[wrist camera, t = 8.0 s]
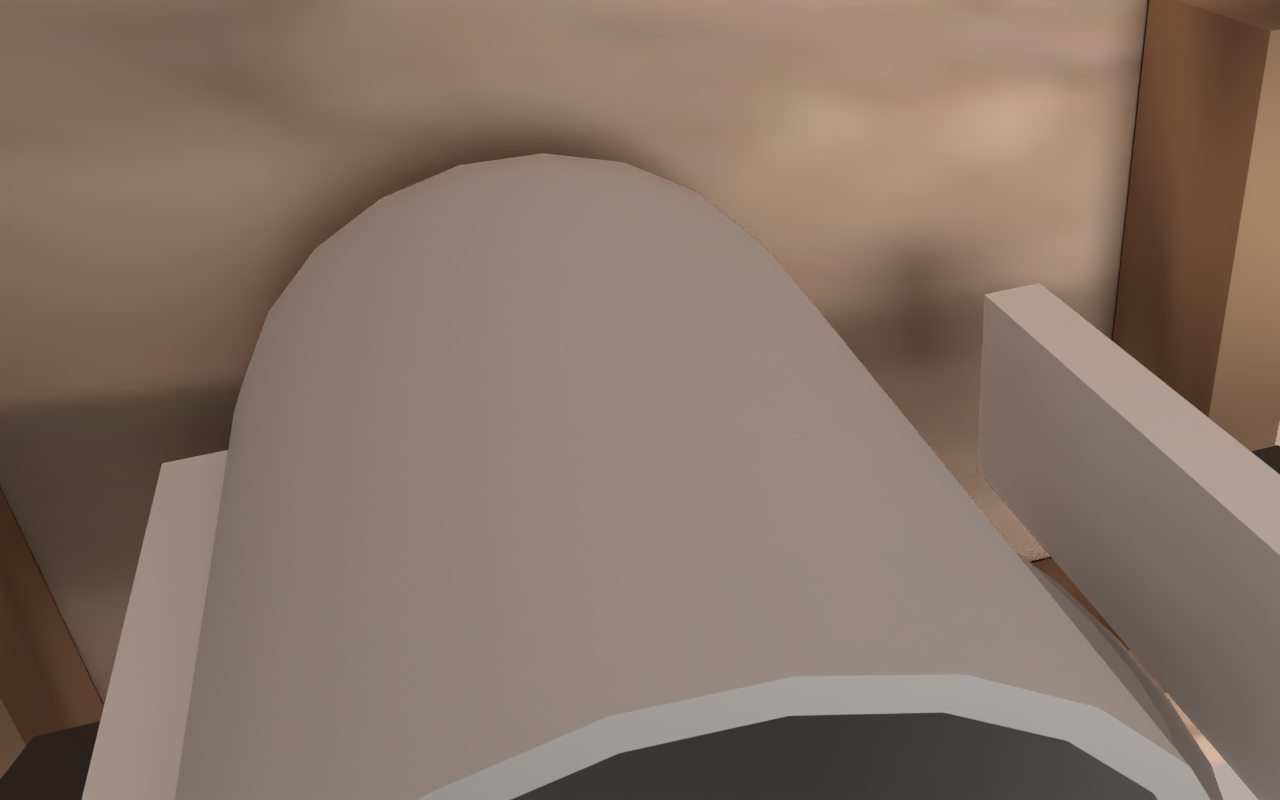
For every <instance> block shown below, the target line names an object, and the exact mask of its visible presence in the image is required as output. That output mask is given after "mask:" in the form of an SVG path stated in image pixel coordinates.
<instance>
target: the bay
mask: <svg viewBox="0 0 1280 800" xmlns="http://www.w3.org/2000/svg"><path fill="white" fill-rule="evenodd" d="M1113 342H1114V343H1115V344H1117V345H1118V346H1119V347H1120V348H1122V349H1123V350H1124V351H1125V352H1127V353H1128V354H1129V355H1130V356H1132V357H1133V358H1134V359H1135V360H1137V361H1138V362H1139V363H1140V364H1142V365H1143V366H1144V367H1145V368H1147V369H1148V370H1149V371H1151V372H1152V373H1153V374H1154V375H1156V376H1157V377H1158V378H1159V379H1161V380H1162V381H1163V382H1164V383H1166V384H1167V385H1168V386H1169V387H1171V388H1172V389H1173V390H1174V391H1176V392H1177V393H1178V394H1179V395H1181V396H1182V397H1183V398H1184V399H1186V400H1187V401H1188V402H1189V403H1191V404H1192V405H1193V406H1194V407H1196V408H1197V409H1198V410H1199V411H1201V412H1202V413H1203V414H1204V415H1206V416H1207V417H1208V418H1209V419H1211V420H1212V421H1213V422H1214V423H1216V424H1217V425H1218V426H1219V427H1221V428H1222V429H1223V430H1224V431H1226V432H1227V433H1228V434H1229V435H1231V436H1232V437H1233V438H1234V439H1236V440H1237V441H1238V442H1239V443H1241V444H1242V445H1243V446H1244V447H1246V448H1247V449H1248V450H1249V451H1254V450H1259V449H1263V448H1267V447H1272V446H1275V440H1276V435H1277V430H1278V425H1279V420H1280V0H1149V9H1148V18H1147V27H1146V37H1145V46H1144V55H1143V64H1142V74H1141V83H1140V92H1139V102H1138V111H1137V120H1136V130H1135V139H1134V148H1133V157H1132V167H1131V176H1130V185H1129V195H1128V204H1127V213H1126V223H1125V232H1124V241H1123V250H1122V260H1121V269H1120V278H1119V288H1118V297H1117V306H1116V316H1115V325H1114V334H1113ZM1032 564H1033V565H1034V566H1036V567H1037V568H1038V569H1040V570H1041V571H1043V572H1044V573H1045V574H1047V575H1048V576H1049V577H1051V578H1052V579H1053V580H1055V581H1056V582H1057V583H1059V584H1060V585H1061V586H1062V587H1063V588H1064V589H1065V590H1067V591H1068V592H1069V593H1070V594H1071V595H1072V596H1073V597H1074V598H1075V599H1076V600H1077V601H1078V602H1079V603H1080V604H1081V605H1082V606H1083V607H1085V608H1086V609H1087V610H1088V611H1089V612H1090V613H1091V614H1092V615H1093V616H1094V617H1095V618H1096V619H1097V620H1098V621H1099V622H1100V623H1101V624H1102V625H1104V626H1105V627H1106V628H1107V629H1108V630H1109V631H1110V632H1111V633H1112V634H1113V635H1114V636H1115V637H1116V638H1117V639H1118V640H1119V641H1120V642H1121V643H1122V645H1123V646H1124V647H1125V648H1126V649H1127V651H1128V652H1129V653H1130V654H1131V655H1132V656H1133V658H1134V659H1135V660H1136V661H1137V662H1138V664H1139V665H1140V666H1141V667H1142V668H1143V669H1144V671H1145V672H1146V673H1147V674H1148V675H1149V676H1150V678H1151V679H1152V680H1153V681H1154V682H1155V684H1156V685H1157V686H1158V687H1159V688H1160V689H1161V691H1162V692H1163V693H1166V691H1165V689H1164V688H1163V687H1162V686H1161V685H1160V684H1159V682H1158V681H1157V680H1156V679H1155V678H1154V677H1153V675H1152V674H1151V673H1150V672H1149V671H1148V670H1147V668H1146V667H1145V666H1144V665H1143V664H1142V663H1141V661H1140V660H1139V659H1138V658H1137V657H1136V656H1135V654H1134V653H1133V652H1132V651H1131V650H1130V649H1129V647H1128V646H1127V645H1126V644H1125V643H1124V642H1123V640H1122V639H1121V638H1120V637H1119V636H1118V634H1117V633H1116V632H1115V631H1114V630H1113V629H1112V627H1111V626H1110V625H1109V624H1108V623H1107V622H1106V620H1105V619H1104V618H1103V617H1102V616H1101V615H1100V613H1099V612H1098V611H1097V610H1096V609H1095V608H1094V606H1093V605H1092V604H1091V603H1090V602H1089V601H1088V599H1087V598H1086V597H1085V596H1084V595H1083V594H1082V592H1081V591H1080V590H1079V589H1078V588H1077V587H1076V585H1075V584H1074V583H1073V582H1072V581H1071V579H1070V578H1069V577H1068V576H1067V575H1066V574H1065V572H1064V571H1063V570H1062V569H1061V568H1060V567H1059V565H1058V564H1057V563H1056V562H1055V561H1054V560H1053V558H1050V559H1046V560H1042V561H1038V562H1033V563H1032ZM103 708H104V706H103V704H102V702H101V700H100V698H99V696H98V694H97V692H96V689H95V687H94V685H93V683H92V681H91V679H90V677H89V675H88V673H87V670H86V668H85V666H84V664H83V662H82V660H81V658H80V656H79V654H78V651H77V649H76V647H75V645H74V643H73V641H72V639H71V637H70V635H69V633H68V630H67V628H66V626H65V624H64V622H63V620H62V618H61V616H60V614H59V611H58V609H57V607H56V605H55V603H54V601H53V599H52V597H51V595H50V592H49V590H48V588H47V586H46V584H45V582H44V580H43V578H42V576H41V574H40V571H39V569H38V567H37V565H36V563H35V561H34V559H33V557H32V555H31V552H30V550H29V548H28V546H27V544H26V542H25V540H24V538H23V536H22V533H21V531H20V529H19V527H18V525H17V523H16V521H15V519H14V517H13V515H12V512H11V510H10V508H9V506H8V504H7V502H6V500H5V498H4V496H3V493H2V491H1V489H0V779H1V778H2V777H3V775H4V774H5V773H6V771H7V770H8V769H9V768H10V766H11V765H12V764H13V762H14V761H15V760H16V759H17V757H18V756H19V755H20V753H21V752H22V751H23V749H24V748H25V747H26V746H27V744H28V743H29V742H30V740H31V739H32V738H33V737H34V736H38V735H42V734H47V733H51V732H55V731H60V730H64V729H68V728H73V727H77V726H81V725H85V724H90V723H94V722H98V721H101V716H102V712H103Z"/></svg>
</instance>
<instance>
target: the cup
mask: <svg viewBox="0 0 1280 800" xmlns="http://www.w3.org/2000/svg"><path fill="white" fill-rule="evenodd" d="M175 800H1223V798H1222V795H1221V793H1220V790H1219V787H1218V784H1217V781H1216V778H1215V775H1214V772H1213V769H1212V766H1211V764H1210V763H1209V761H1208V760H1207V758H1206V756H1205V755H1204V753H1203V752H1202V750H1201V749H1200V747H1199V745H1198V744H1197V742H1196V741H1195V739H1194V738H1193V736H1192V735H1191V733H1190V731H1189V730H1188V728H1187V727H1186V725H1185V724H1184V722H1183V720H1182V719H1181V717H1180V716H1179V714H1178V713H1177V711H1176V710H1175V708H1174V706H1173V705H1172V703H1171V702H1170V700H1169V699H1168V698H1167V697H1166V695H1165V694H1164V693H1163V692H1162V691H1161V689H1160V688H1159V687H1158V686H1157V685H1156V684H1155V682H1154V681H1153V680H1152V679H1151V678H1150V676H1149V675H1148V674H1147V673H1146V672H1145V671H1144V669H1143V668H1142V667H1141V666H1140V665H1139V664H1138V662H1137V661H1136V660H1135V659H1134V658H1133V656H1132V655H1131V654H1130V653H1129V652H1128V651H1127V649H1126V648H1125V647H1124V646H1123V645H1122V643H1121V642H1120V641H1119V640H1118V639H1117V638H1116V637H1115V636H1114V635H1113V634H1112V633H1111V632H1110V631H1109V630H1108V629H1107V628H1106V627H1105V626H1104V625H1102V624H1101V623H1100V622H1099V621H1098V620H1097V619H1096V618H1095V617H1094V616H1093V615H1092V614H1091V613H1090V612H1089V611H1088V610H1087V609H1086V608H1085V607H1083V606H1082V605H1081V604H1080V603H1079V602H1078V601H1077V600H1076V599H1075V598H1074V597H1073V596H1072V595H1071V594H1070V593H1069V592H1068V591H1067V590H1065V589H1064V588H1063V587H1062V586H1061V585H1060V584H1059V583H1057V582H1056V581H1055V580H1053V579H1052V578H1051V577H1049V576H1048V575H1047V574H1045V573H1044V572H1043V571H1041V570H1040V569H1038V568H1037V567H1036V566H1034V565H1033V564H1032V563H1030V562H1029V561H1028V560H1026V559H1025V558H1024V557H1022V556H1021V555H1020V554H1018V553H1017V552H1015V551H1014V550H1013V548H1012V547H1011V546H1010V545H1009V544H1008V542H1007V541H1006V540H1005V539H1004V537H1003V536H1002V535H1001V534H1000V533H999V531H998V530H997V529H996V528H995V526H994V525H993V524H992V523H991V521H990V520H989V519H988V518H987V517H986V515H985V514H984V513H983V512H982V510H981V509H980V508H979V507H978V505H977V504H976V503H975V502H974V501H973V499H972V498H971V497H970V496H969V494H968V493H967V492H966V491H965V490H964V488H963V487H962V486H961V485H960V483H959V482H958V481H957V480H956V478H955V477H954V476H953V475H952V474H951V472H950V471H949V470H948V469H947V467H946V466H945V465H944V464H943V463H942V461H941V460H940V459H939V458H938V456H937V455H936V454H935V453H934V451H933V450H932V449H931V448H930V447H929V445H928V444H927V443H926V442H925V440H924V439H923V438H922V437H921V436H920V434H919V433H918V432H917V431H916V429H915V428H914V427H913V426H912V424H911V423H910V422H909V421H908V420H907V418H906V417H905V416H904V415H903V413H902V412H901V411H900V410H899V408H898V407H897V406H896V405H895V404H894V402H893V401H892V400H891V399H890V397H889V396H888V395H887V394H886V393H885V391H884V390H883V389H882V388H881V386H880V385H879V384H878V383H877V381H876V380H875V379H874V378H873V377H872V375H871V374H870V373H869V372H868V370H867V369H866V368H865V367H864V366H863V364H862V363H861V362H860V361H859V359H858V358H857V357H856V356H855V354H854V353H853V352H852V351H851V350H850V348H849V347H848V346H847V345H846V343H845V342H844V341H843V340H842V338H841V337H840V336H839V335H838V334H837V332H836V331H835V330H834V329H833V327H832V326H831V325H830V324H829V323H828V321H827V320H826V319H825V318H824V316H823V315H822V314H821V313H820V311H819V310H818V309H817V308H816V307H815V305H814V304H813V303H812V302H811V300H810V299H809V298H808V297H807V296H806V294H805V293H804V292H803V291H802V289H801V288H800V287H799V286H798V284H797V283H796V282H795V281H794V280H793V278H792V277H791V276H790V275H789V273H788V272H787V271H786V270H785V269H784V267H783V266H782V265H781V264H780V262H779V261H778V260H777V259H776V257H775V256H774V255H773V254H772V253H771V252H770V251H769V250H768V249H766V248H765V247H764V246H763V245H762V244H761V243H760V242H759V241H758V240H757V239H756V238H755V237H754V236H752V235H751V234H750V233H749V232H747V231H746V230H745V229H744V228H742V227H741V226H740V225H738V224H737V223H736V222H735V221H733V220H732V219H731V218H730V217H728V216H727V215H726V214H724V213H723V212H722V211H721V210H719V209H718V208H717V207H715V206H714V205H713V204H712V203H710V202H709V201H708V200H707V199H705V198H704V197H703V196H701V195H700V194H699V193H698V192H696V191H694V190H692V189H689V188H687V187H685V186H682V185H680V184H677V183H675V182H672V181H670V180H667V179H665V178H662V177H660V176H657V175H655V174H652V173H650V172H647V171H645V170H642V169H640V168H637V167H635V166H633V165H630V164H628V163H625V162H618V161H609V160H600V159H591V158H582V157H573V156H564V155H555V154H546V153H541V154H534V155H527V156H520V157H513V158H506V159H499V160H492V161H484V162H477V163H470V164H463V165H458V166H456V167H454V168H451V169H449V170H446V171H444V172H442V173H439V174H437V175H435V176H432V177H430V178H427V179H425V180H423V181H420V182H418V183H416V184H413V185H411V186H409V187H406V188H404V189H401V190H399V191H397V192H394V193H392V194H390V195H387V196H385V197H382V198H380V199H379V200H378V201H376V202H375V203H374V204H373V205H371V206H370V207H369V208H367V209H366V210H365V211H363V212H362V213H361V214H360V215H358V216H357V217H356V218H354V219H353V220H352V221H350V222H349V223H348V224H347V225H345V226H344V227H343V228H341V229H340V230H339V231H337V232H336V233H335V234H333V235H332V236H331V237H330V238H328V239H327V240H326V241H324V242H323V243H322V244H320V245H319V246H318V247H317V248H315V249H314V251H313V252H312V253H311V255H310V256H309V257H308V259H307V260H306V262H305V263H304V264H303V266H302V267H301V268H300V270H299V271H298V272H297V274H296V275H295V276H294V278H293V279H292V280H291V282H290V283H289V285H288V286H287V287H286V289H285V290H284V291H283V293H282V294H281V295H280V297H279V298H278V299H277V301H276V302H275V303H274V305H273V306H272V308H271V309H270V310H269V312H268V314H267V317H266V319H265V322H264V325H263V328H262V331H261V333H260V336H259V339H258V342H257V344H256V347H255V350H254V353H253V355H252V358H251V361H250V364H249V367H248V369H247V372H246V375H245V378H244V380H243V384H242V387H241V390H240V393H239V397H238V400H237V403H236V407H235V410H234V415H233V422H232V428H231V435H230V442H229V448H228V455H227V461H226V468H225V474H224V481H223V487H222V494H221V500H220V507H219V514H218V520H217V527H216V533H215V540H214V546H213V553H212V559H211V566H210V572H209V579H208V585H207V592H206V599H205V605H204V612H203V618H202V625H201V631H200V638H199V644H198V651H197V657H196V664H195V671H194V677H193V684H192V690H191V697H190V703H189V710H188V716H187V723H186V729H185V736H184V743H183V749H182V756H181V762H180V769H179V775H178V782H177V788H176V795H175Z"/></svg>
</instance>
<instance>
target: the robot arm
mask: <svg viewBox="0 0 1280 800" xmlns="http://www.w3.org/2000/svg"><path fill="white" fill-rule="evenodd" d="M227 455H228V450H225V451H220V452H215V453H210V454H205V455H201V456H196V457H191V458H186V459H181V460H176V461H171V462H167V463H162V465H161V469H160V474H159V478H158V482H157V486H156V490H155V495H154V499H153V503H152V507H151V511H150V516H149V520H148V524H147V528H146V532H145V536H144V541H143V545H142V549H141V553H140V557H139V562H138V566H137V570H136V574H135V578H134V582H133V587H132V591H131V595H130V599H129V603H128V608H127V612H126V616H125V620H124V624H123V628H122V633H121V637H120V641H119V645H118V649H117V654H116V658H115V662H114V666H113V670H112V675H111V679H110V683H109V687H108V691H107V695H106V700H105V704H104V708H103V712H102V716H101V721H98V722H94V723H90V724H85V725H81V726H77V727H73V728H68V729H64V730H60V731H55V732H51V733H47V734H42V735H38V736H34V737H33V738H32V739H31V740H30V742H29V743H28V744H27V746H26V747H25V748H24V749H23V751H22V752H21V753H20V755H19V756H18V757H17V759H16V760H15V761H14V762H13V764H12V765H11V766H10V768H9V769H8V770H7V771H6V773H5V774H4V775H3V777H2V778H1V779H0V800H175V795H176V788H177V782H178V775H179V769H180V762H181V756H182V749H183V743H184V736H185V729H186V723H187V716H188V710H189V703H190V697H191V690H192V684H193V677H194V671H195V664H196V657H197V651H198V644H199V638H200V631H201V625H202V618H203V612H204V605H205V599H206V592H207V585H208V579H209V572H210V566H211V559H212V553H213V546H214V540H215V533H216V527H217V520H218V514H219V507H220V500H221V494H222V487H223V481H224V474H225V468H226V461H227ZM977 471H978V472H979V473H980V474H981V475H982V477H983V478H984V479H985V480H986V481H987V482H988V484H989V485H990V486H991V487H992V488H993V489H994V491H995V492H996V493H997V494H998V495H999V496H1000V498H1001V499H1002V500H1003V501H1004V502H1005V503H1006V505H1007V506H1008V507H1009V508H1010V509H1011V510H1012V512H1013V513H1014V514H1015V515H1016V516H1017V517H1018V519H1019V520H1020V521H1021V522H1022V523H1023V524H1024V526H1025V527H1026V528H1027V529H1028V530H1029V532H1030V533H1031V534H1032V535H1033V536H1034V537H1035V539H1036V540H1037V541H1038V542H1039V543H1040V544H1041V546H1042V547H1043V548H1044V549H1045V550H1046V551H1047V553H1048V554H1049V555H1050V556H1051V557H1052V558H1053V560H1054V561H1055V562H1056V563H1057V564H1058V565H1059V567H1060V568H1061V569H1062V570H1063V571H1064V572H1065V574H1066V575H1067V576H1068V577H1069V578H1070V579H1071V581H1072V582H1073V583H1074V584H1075V585H1076V587H1077V588H1078V589H1079V590H1080V591H1081V592H1082V594H1083V595H1084V596H1085V597H1086V598H1087V599H1088V601H1089V602H1090V603H1091V604H1092V605H1093V606H1094V608H1095V609H1096V610H1097V611H1098V612H1099V613H1100V615H1101V616H1102V617H1103V618H1104V619H1105V620H1106V622H1107V623H1108V624H1109V625H1110V626H1111V627H1112V629H1113V630H1114V631H1115V632H1116V633H1117V634H1118V636H1119V637H1120V638H1121V639H1122V640H1123V642H1124V643H1125V644H1126V645H1127V646H1128V647H1129V649H1130V650H1131V651H1132V652H1133V653H1134V654H1135V656H1136V657H1137V658H1138V659H1139V660H1140V661H1141V663H1142V664H1143V665H1144V666H1145V667H1146V668H1147V670H1148V671H1149V672H1150V673H1151V674H1152V675H1153V677H1154V678H1155V679H1156V680H1157V681H1158V682H1159V684H1160V685H1161V686H1162V687H1163V688H1164V689H1165V691H1166V692H1167V693H1168V694H1169V695H1170V697H1171V698H1172V699H1173V700H1174V701H1175V702H1176V704H1177V705H1178V706H1179V707H1180V708H1181V709H1182V711H1183V712H1184V713H1185V714H1186V715H1187V716H1188V718H1189V719H1190V720H1191V721H1192V722H1193V723H1194V725H1195V726H1196V727H1197V728H1198V729H1199V730H1200V732H1201V733H1202V734H1203V735H1204V736H1205V737H1206V739H1207V740H1208V741H1209V742H1210V743H1211V744H1212V746H1213V747H1214V748H1215V749H1216V750H1217V752H1218V753H1219V754H1220V755H1221V756H1222V757H1223V759H1224V760H1225V761H1226V762H1227V763H1228V764H1229V765H1230V767H1231V768H1232V769H1233V770H1234V771H1235V773H1236V774H1237V775H1238V776H1239V777H1240V778H1241V780H1242V781H1243V782H1244V783H1245V784H1246V785H1247V787H1248V788H1249V789H1250V790H1251V791H1252V792H1253V794H1254V795H1255V796H1256V797H1257V798H1258V799H1259V800H1280V446H1278V445H1276V446H1272V447H1267V448H1263V449H1259V450H1254V451H1249V450H1248V449H1247V448H1246V447H1244V446H1243V445H1242V444H1241V443H1239V442H1238V441H1237V440H1236V439H1234V438H1233V437H1232V436H1231V435H1229V434H1228V433H1227V432H1226V431H1224V430H1223V429H1222V428H1221V427H1219V426H1218V425H1217V424H1216V423H1214V422H1213V421H1212V420H1211V419H1209V418H1208V417H1207V416H1206V415H1204V414H1203V413H1202V412H1201V411H1199V410H1198V409H1197V408H1196V407H1194V406H1193V405H1192V404H1191V403H1189V402H1188V401H1187V400H1186V399H1184V398H1183V397H1182V396H1181V395H1179V394H1178V393H1177V392H1176V391H1174V390H1173V389H1172V388H1171V387H1169V386H1168V385H1167V384H1166V383H1164V382H1163V381H1162V380H1161V379H1159V378H1158V377H1157V376H1156V375H1154V374H1153V373H1152V372H1151V371H1149V370H1148V369H1147V368H1145V367H1144V366H1143V365H1142V364H1140V363H1139V362H1138V361H1137V360H1135V359H1134V358H1133V357H1132V356H1130V355H1129V354H1128V353H1127V352H1125V351H1124V350H1123V349H1122V348H1120V347H1119V346H1118V345H1117V344H1115V343H1114V342H1113V341H1112V340H1110V339H1109V338H1108V337H1107V336H1105V335H1104V334H1103V333H1102V332H1100V331H1099V330H1098V329H1097V328H1095V327H1094V326H1093V325H1092V324H1090V323H1089V322H1088V321H1087V320H1085V319H1084V318H1083V317H1082V316H1080V315H1079V314H1078V313H1077V312H1075V311H1074V310H1073V309H1072V308H1070V307H1069V306H1068V305H1067V304H1065V303H1064V302H1063V301H1062V300H1060V299H1059V298H1058V297H1057V296H1055V295H1054V294H1053V293H1052V292H1050V291H1049V290H1048V289H1047V288H1045V287H1044V286H1043V285H1042V284H1040V283H1036V284H1032V285H1027V286H1022V287H1017V288H1012V289H1007V290H1002V291H998V292H993V293H988V294H984V315H983V339H982V362H981V385H980V408H979V431H978V455H977Z"/></svg>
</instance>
